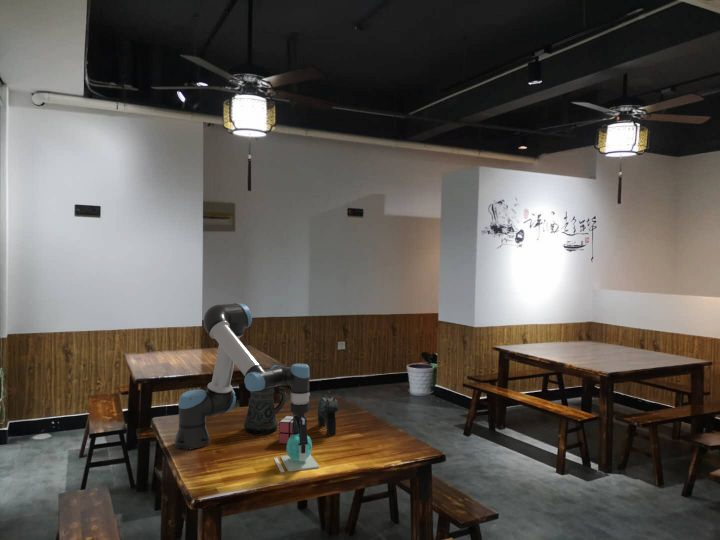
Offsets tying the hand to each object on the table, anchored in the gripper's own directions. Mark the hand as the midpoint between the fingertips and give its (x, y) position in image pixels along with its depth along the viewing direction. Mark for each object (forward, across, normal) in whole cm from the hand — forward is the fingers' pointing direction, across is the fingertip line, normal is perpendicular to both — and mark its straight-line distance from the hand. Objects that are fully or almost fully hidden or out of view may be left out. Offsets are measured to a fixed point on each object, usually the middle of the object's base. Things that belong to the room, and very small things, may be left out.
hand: (299, 455), depth 224 cm
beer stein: (+3, +49, +7) cm, 49 cm away
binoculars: (+3, +39, -22) cm, 45 cm away
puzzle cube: (+3, +28, -3) cm, 28 cm away
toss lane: (+3, 0, +2) cm, 3 cm away
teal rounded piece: (+1, 0, 0) cm, 1 cm away
